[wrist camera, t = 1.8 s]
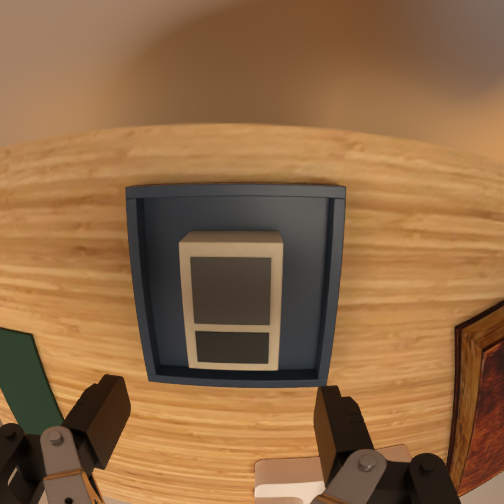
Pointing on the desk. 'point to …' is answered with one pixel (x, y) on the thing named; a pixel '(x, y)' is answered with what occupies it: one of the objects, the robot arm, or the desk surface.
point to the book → (478, 401)
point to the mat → (26, 383)
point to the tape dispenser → (301, 477)
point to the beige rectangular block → (232, 298)
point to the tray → (239, 219)
